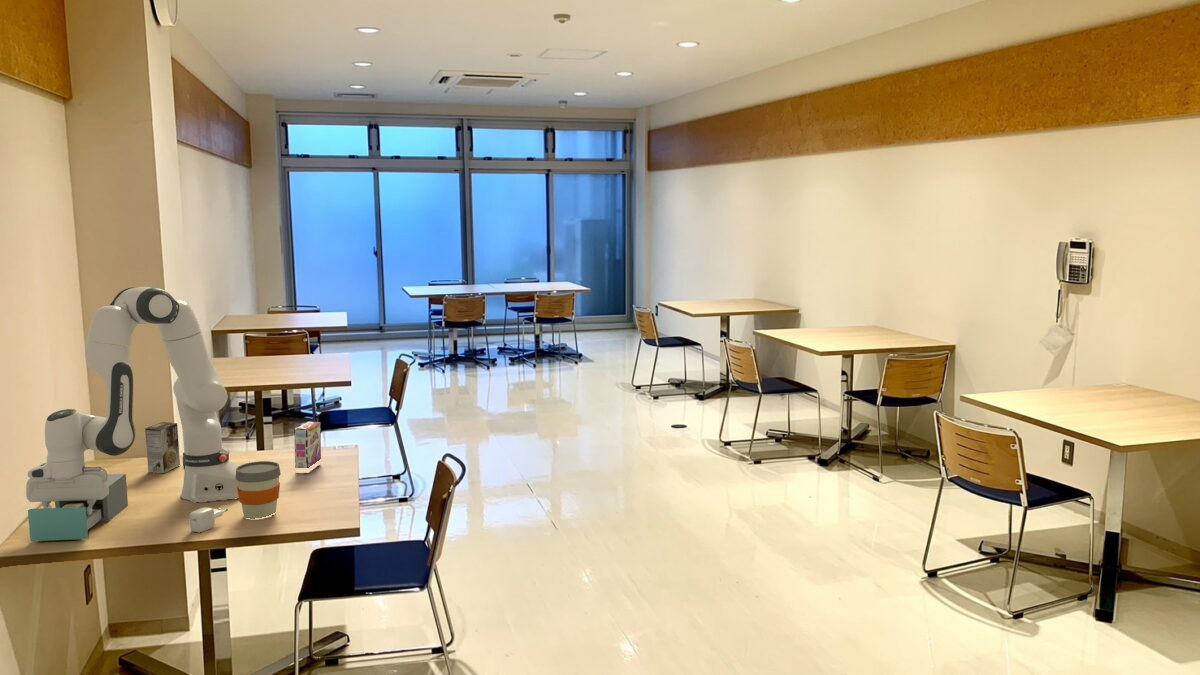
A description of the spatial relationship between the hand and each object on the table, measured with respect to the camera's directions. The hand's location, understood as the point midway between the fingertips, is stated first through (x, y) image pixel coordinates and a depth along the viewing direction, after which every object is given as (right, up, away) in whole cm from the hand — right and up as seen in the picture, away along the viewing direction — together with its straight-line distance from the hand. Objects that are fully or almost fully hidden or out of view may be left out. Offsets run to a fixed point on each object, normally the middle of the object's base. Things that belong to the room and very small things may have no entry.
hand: (70, 514), depth 232 cm
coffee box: (-4, +3, +58) cm, 58 cm away
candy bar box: (+46, +3, +61) cm, 76 cm away
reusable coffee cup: (+47, -4, +16) cm, 50 cm away
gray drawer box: (-2, -3, +14) cm, 15 cm away
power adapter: (+36, -5, +7) cm, 37 cm away
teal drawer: (0, -4, 0) cm, 4 cm away
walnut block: (0, -3, 0) cm, 3 cm away
